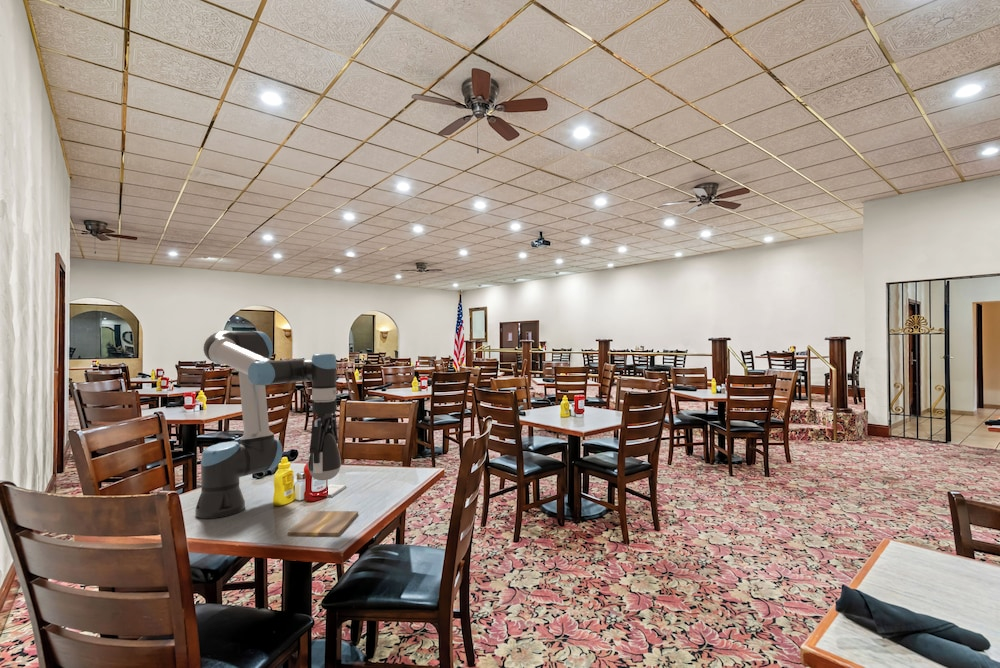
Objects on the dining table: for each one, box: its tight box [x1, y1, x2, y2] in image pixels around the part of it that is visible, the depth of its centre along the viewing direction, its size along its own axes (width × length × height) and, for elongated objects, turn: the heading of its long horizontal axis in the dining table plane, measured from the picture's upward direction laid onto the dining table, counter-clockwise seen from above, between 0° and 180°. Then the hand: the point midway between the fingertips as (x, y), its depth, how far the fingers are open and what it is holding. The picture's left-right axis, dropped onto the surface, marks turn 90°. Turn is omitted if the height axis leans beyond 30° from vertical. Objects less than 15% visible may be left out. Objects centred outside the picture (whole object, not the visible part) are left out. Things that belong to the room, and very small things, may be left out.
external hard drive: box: [327, 483, 347, 498], centre depth 189 cm, size 2×8×12 cm
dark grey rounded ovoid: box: [307, 432, 342, 481], centre depth 156 cm, size 10×10×15 cm
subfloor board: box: [287, 510, 359, 537], centre depth 156 cm, size 16×18×1 cm
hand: (324, 468), depth 156 cm, fingers closed on dark grey rounded ovoid, 10 cm apart
